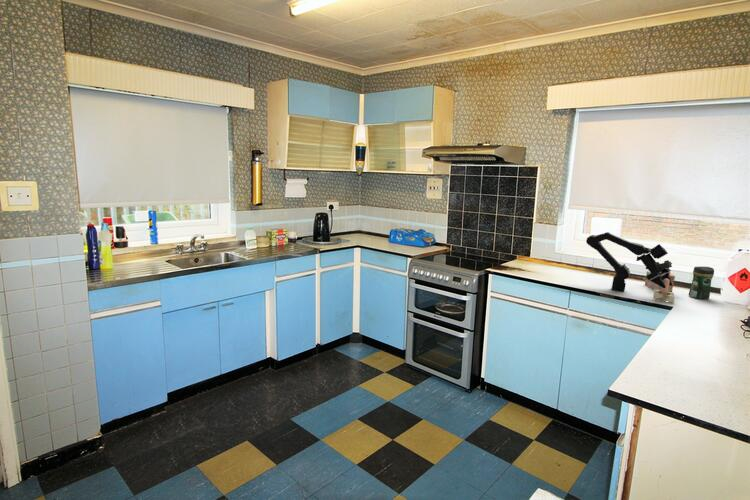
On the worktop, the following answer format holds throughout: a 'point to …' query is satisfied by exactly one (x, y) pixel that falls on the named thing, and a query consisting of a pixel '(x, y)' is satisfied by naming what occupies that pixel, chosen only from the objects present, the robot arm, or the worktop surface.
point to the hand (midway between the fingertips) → (668, 286)
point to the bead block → (663, 296)
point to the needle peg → (666, 283)
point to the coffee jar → (701, 282)
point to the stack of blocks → (657, 287)
